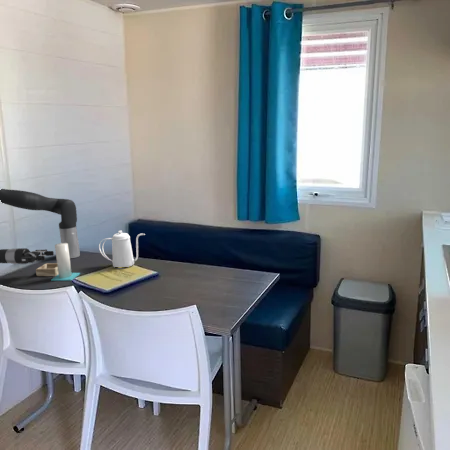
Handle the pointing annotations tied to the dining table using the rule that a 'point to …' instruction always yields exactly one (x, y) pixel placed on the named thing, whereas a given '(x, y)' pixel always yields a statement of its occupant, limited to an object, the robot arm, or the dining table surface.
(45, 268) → the holder
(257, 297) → the dining table surface
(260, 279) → the dining table surface
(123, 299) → the dining table surface
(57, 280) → the mat
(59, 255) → the white cylinder
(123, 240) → the coffeepot
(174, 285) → the dining table surface
